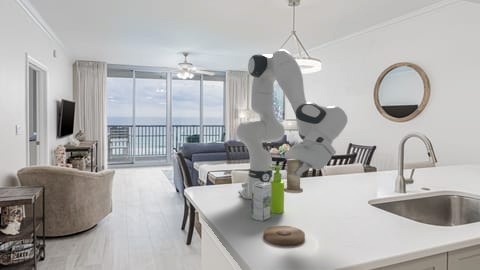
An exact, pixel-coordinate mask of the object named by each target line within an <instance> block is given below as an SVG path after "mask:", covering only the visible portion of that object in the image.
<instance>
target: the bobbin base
mask: <svg viewBox="0 0 480 270" xmlns="http://www.w3.org/2000/svg"><path fill="white" fill-rule="evenodd" d="M305 235H306V234H305V231H303V230H302V229H300V228H298V227H295V226H290V225H274V226H273V225H272V226H269V227H267V228H265V229H264V230H263V239H264V240H265V242H266V241H267V243H269V244H272V245H275V246H281V247H293V246H298V245H301V244H303V243H304V241H305V239H306V238H305V237H306V236H305Z"/></svg>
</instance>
